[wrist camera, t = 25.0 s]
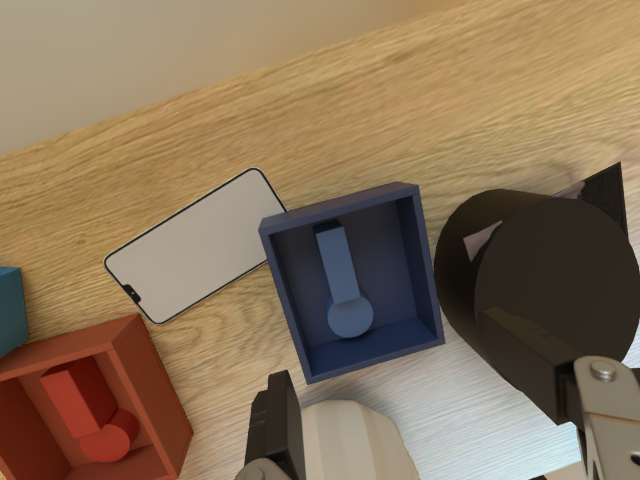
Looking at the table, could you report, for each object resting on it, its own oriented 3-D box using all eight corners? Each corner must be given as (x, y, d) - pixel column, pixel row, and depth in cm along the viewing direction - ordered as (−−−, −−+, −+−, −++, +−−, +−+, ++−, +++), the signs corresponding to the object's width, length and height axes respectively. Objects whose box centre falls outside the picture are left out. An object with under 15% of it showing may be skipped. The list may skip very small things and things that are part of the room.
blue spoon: (301, 229, 26) (303, 237, 23) (347, 216, 26) (355, 222, 23) (330, 332, 29) (335, 350, 26) (372, 320, 29) (381, 336, 26)
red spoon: (52, 359, 26) (25, 381, 24) (99, 345, 26) (78, 366, 24) (103, 449, 29) (84, 479, 26) (146, 436, 29) (132, 464, 26)
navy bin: (261, 218, 26) (257, 229, 22) (396, 181, 26) (418, 184, 22) (303, 352, 29) (307, 385, 25) (422, 317, 30) (446, 343, 26)
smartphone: (305, 239, 27) (156, 329, 27) (305, 237, 27) (159, 325, 28) (257, 161, 25) (96, 259, 25) (257, 161, 25) (101, 257, 26)
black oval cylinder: (461, 372, 33) (515, 433, 26) (407, 224, 27) (457, 251, 20) (582, 310, 34) (666, 354, 26) (554, 151, 28) (653, 153, 21)
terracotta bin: (0, 352, 26) (-56, 389, 22) (139, 312, 27) (110, 341, 22) (72, 469, 30) (35, 522, 25) (193, 432, 30) (178, 478, 26)
